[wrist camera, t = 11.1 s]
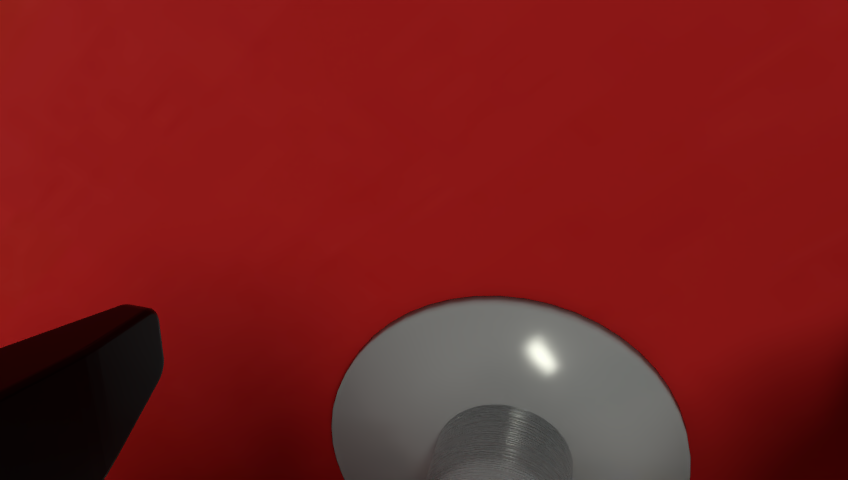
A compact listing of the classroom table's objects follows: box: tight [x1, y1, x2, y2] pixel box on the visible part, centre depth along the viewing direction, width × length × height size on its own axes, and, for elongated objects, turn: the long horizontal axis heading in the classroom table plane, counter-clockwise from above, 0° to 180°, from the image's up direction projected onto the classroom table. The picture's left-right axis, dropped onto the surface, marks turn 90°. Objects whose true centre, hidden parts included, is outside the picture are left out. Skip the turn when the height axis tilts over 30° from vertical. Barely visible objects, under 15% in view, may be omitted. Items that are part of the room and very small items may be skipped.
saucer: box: [332, 296, 690, 480], centre depth 25 cm, size 12×12×1 cm
